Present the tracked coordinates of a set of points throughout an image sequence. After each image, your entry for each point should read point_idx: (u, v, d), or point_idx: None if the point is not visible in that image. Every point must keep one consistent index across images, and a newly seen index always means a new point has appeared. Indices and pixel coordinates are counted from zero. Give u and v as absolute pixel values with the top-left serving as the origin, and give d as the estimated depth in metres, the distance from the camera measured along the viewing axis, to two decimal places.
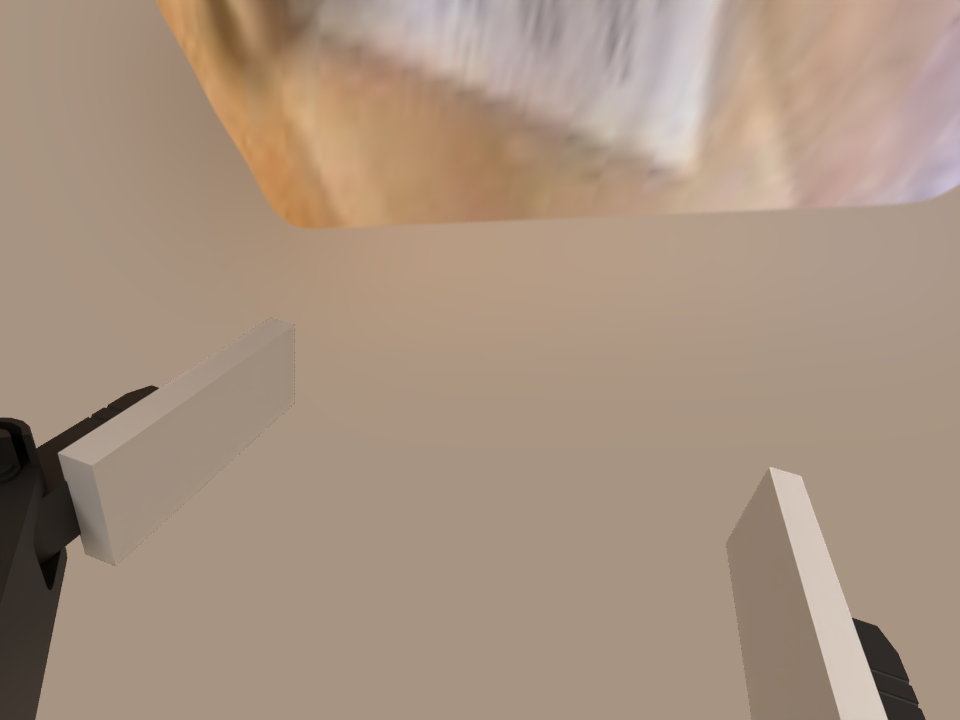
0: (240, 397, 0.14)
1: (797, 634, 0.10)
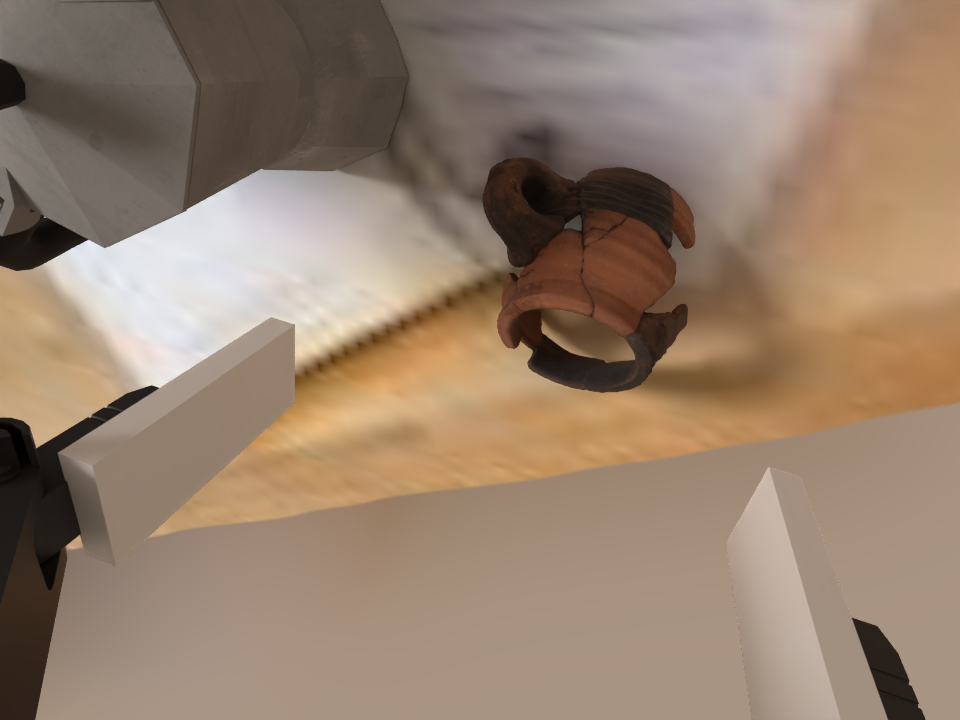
0: (240, 397, 0.14)
1: (797, 634, 0.10)
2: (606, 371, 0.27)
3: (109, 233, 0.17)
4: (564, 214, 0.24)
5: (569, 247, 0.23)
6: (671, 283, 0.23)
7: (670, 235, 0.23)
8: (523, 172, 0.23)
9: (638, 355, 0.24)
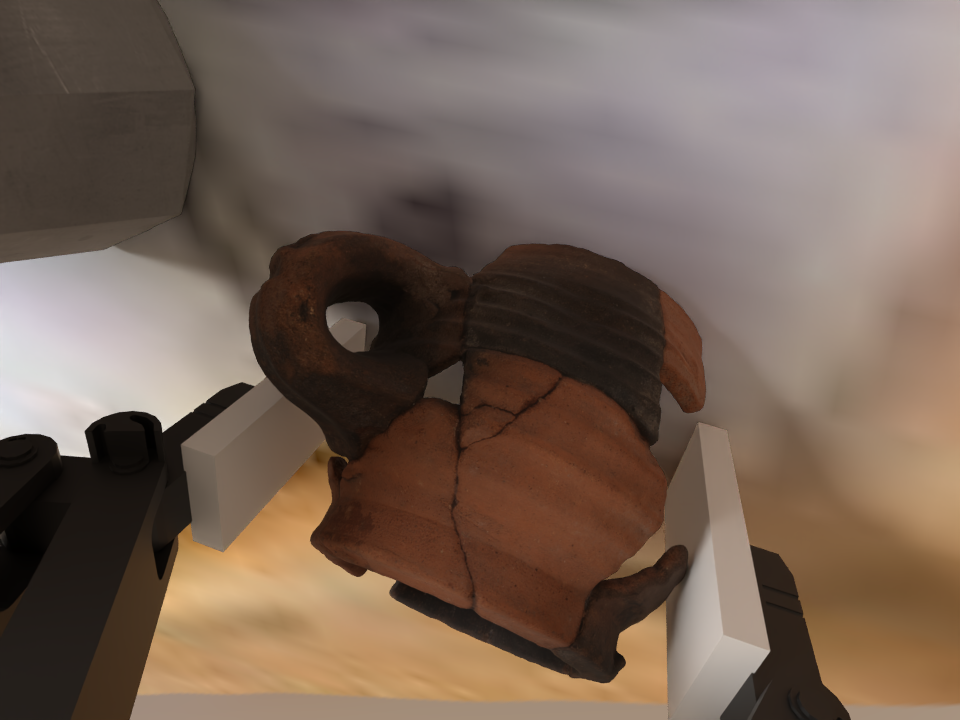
0: None
1: (702, 557, 0.11)
2: None
3: None
4: (431, 357, 0.11)
5: (428, 446, 0.10)
6: (655, 527, 0.10)
7: (656, 415, 0.11)
8: (333, 271, 0.10)
9: (581, 671, 0.11)
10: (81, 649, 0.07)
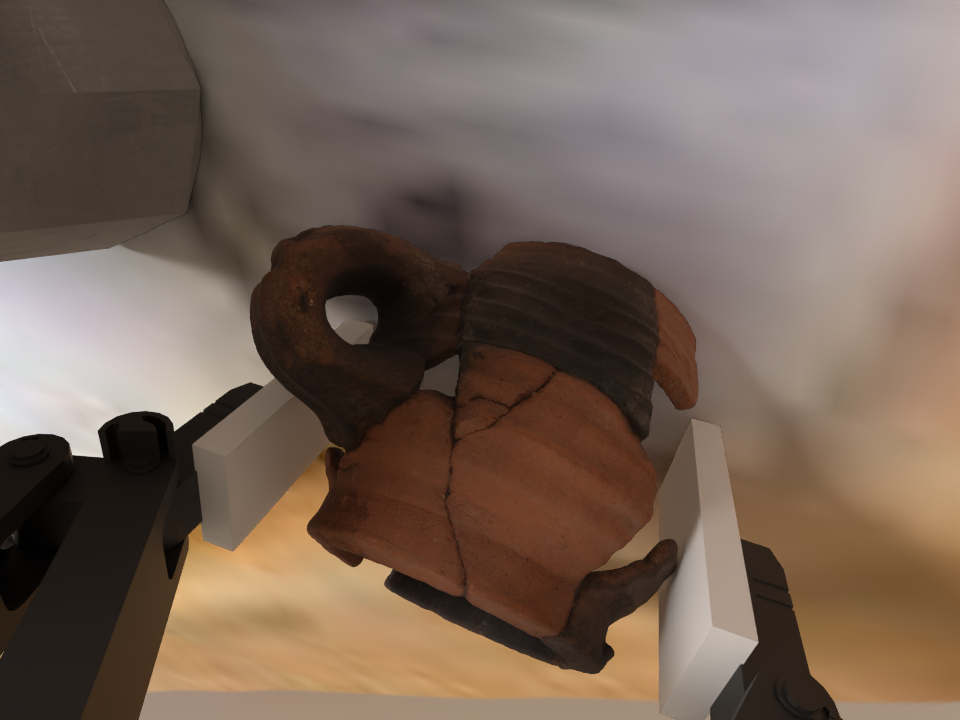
0: None
1: (693, 551, 0.11)
2: None
3: None
4: (427, 351, 0.11)
5: (423, 436, 0.10)
6: (645, 520, 0.11)
7: (647, 410, 0.11)
8: (333, 264, 0.11)
9: (569, 661, 0.11)
10: (90, 649, 0.07)
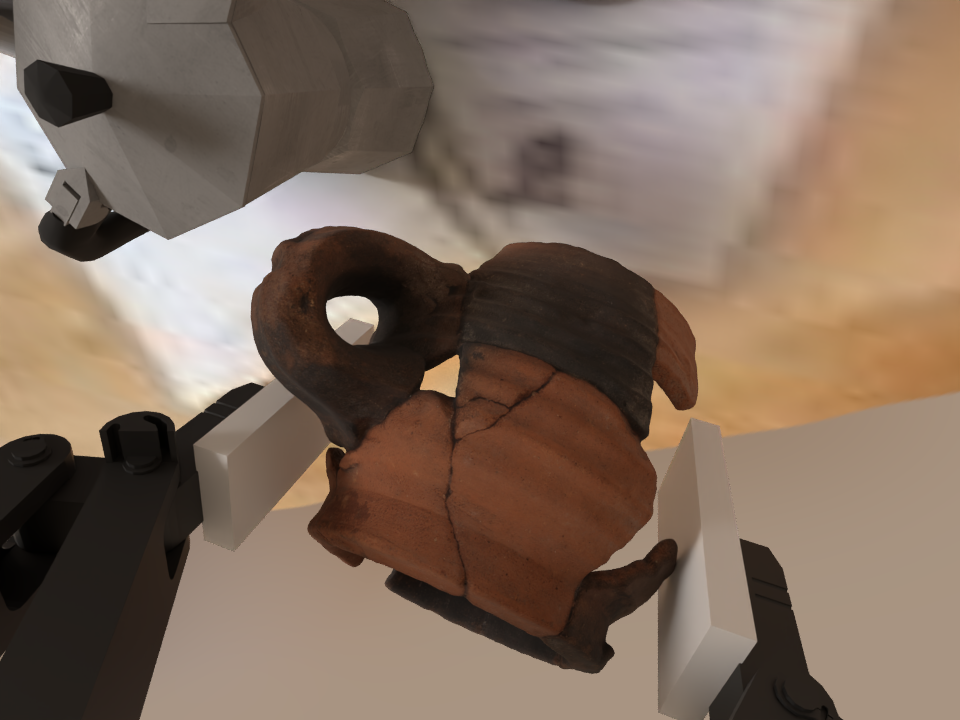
0: None
1: (692, 550, 0.11)
2: None
3: (174, 226, 0.19)
4: (428, 351, 0.11)
5: (424, 437, 0.10)
6: (645, 520, 0.11)
7: (647, 411, 0.11)
8: (334, 264, 0.11)
9: (570, 660, 0.11)
10: (92, 649, 0.07)
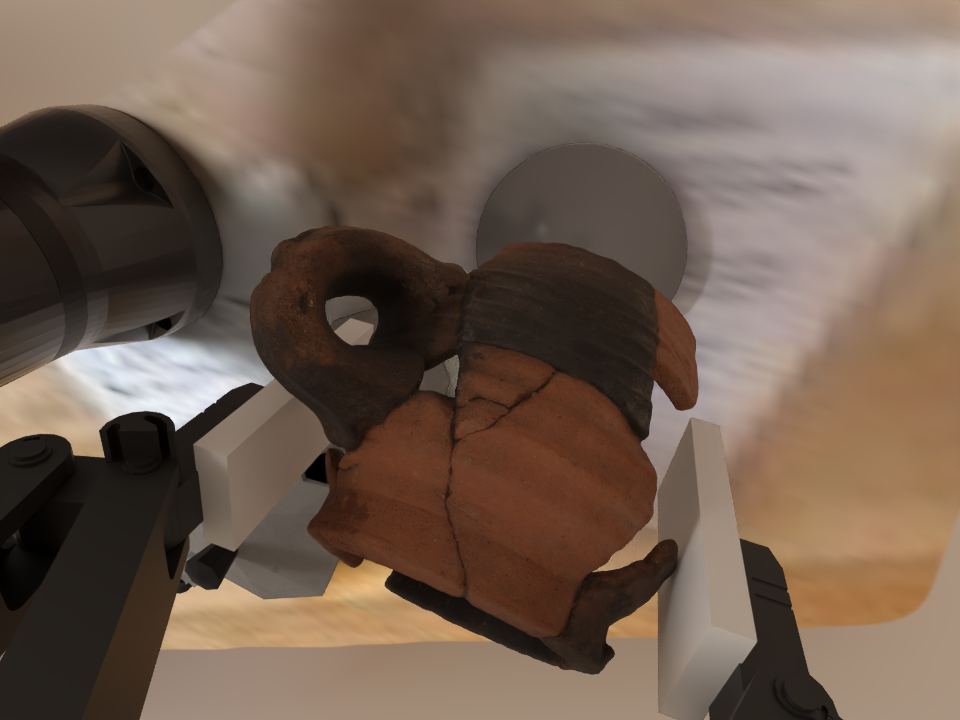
0: None
1: (692, 550, 0.11)
2: None
3: (269, 595, 0.26)
4: (427, 351, 0.11)
5: (423, 437, 0.10)
6: (645, 520, 0.11)
7: (647, 411, 0.11)
8: (333, 265, 0.11)
9: (570, 661, 0.11)
10: (92, 648, 0.07)
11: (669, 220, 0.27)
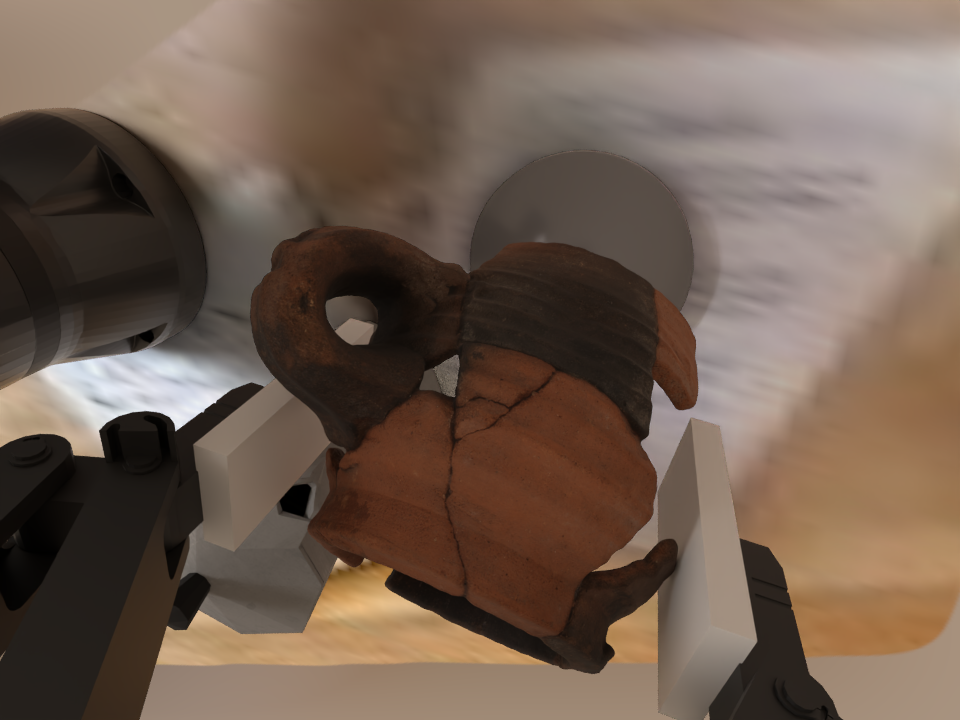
0: None
1: (692, 550, 0.11)
2: None
3: (247, 630, 0.25)
4: (428, 351, 0.11)
5: (423, 436, 0.10)
6: (645, 520, 0.11)
7: (647, 410, 0.11)
8: (333, 264, 0.11)
9: (570, 660, 0.11)
10: (91, 649, 0.07)
11: (674, 232, 0.26)
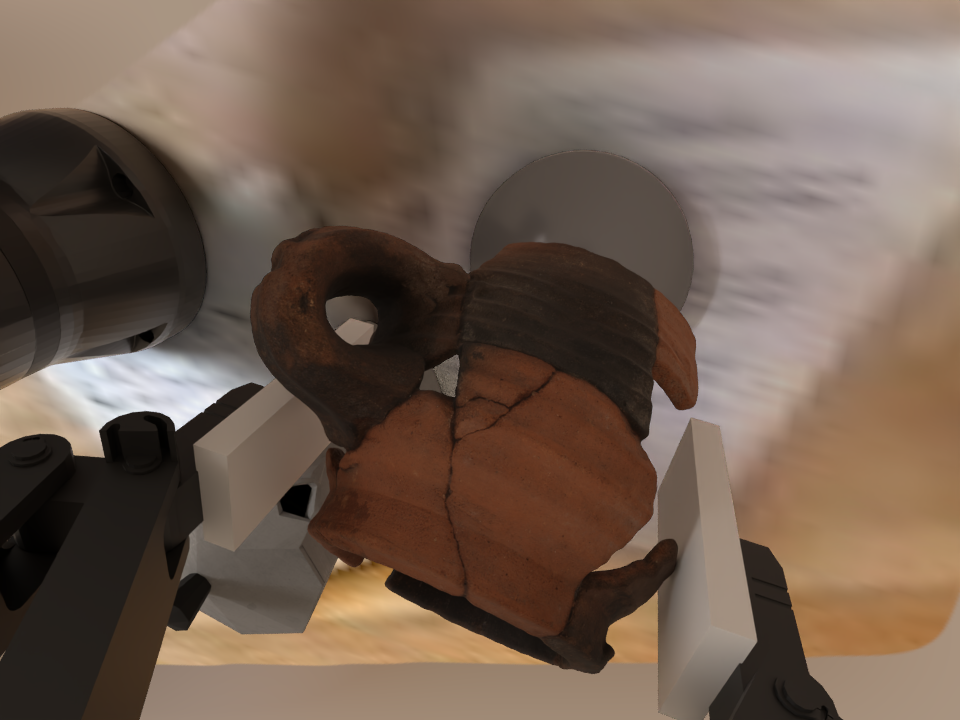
0: None
1: (692, 550, 0.11)
2: None
3: (247, 631, 0.25)
4: (428, 351, 0.11)
5: (423, 436, 0.10)
6: (645, 520, 0.11)
7: (647, 411, 0.11)
8: (333, 264, 0.11)
9: (570, 660, 0.11)
10: (91, 649, 0.07)
11: (674, 232, 0.26)
